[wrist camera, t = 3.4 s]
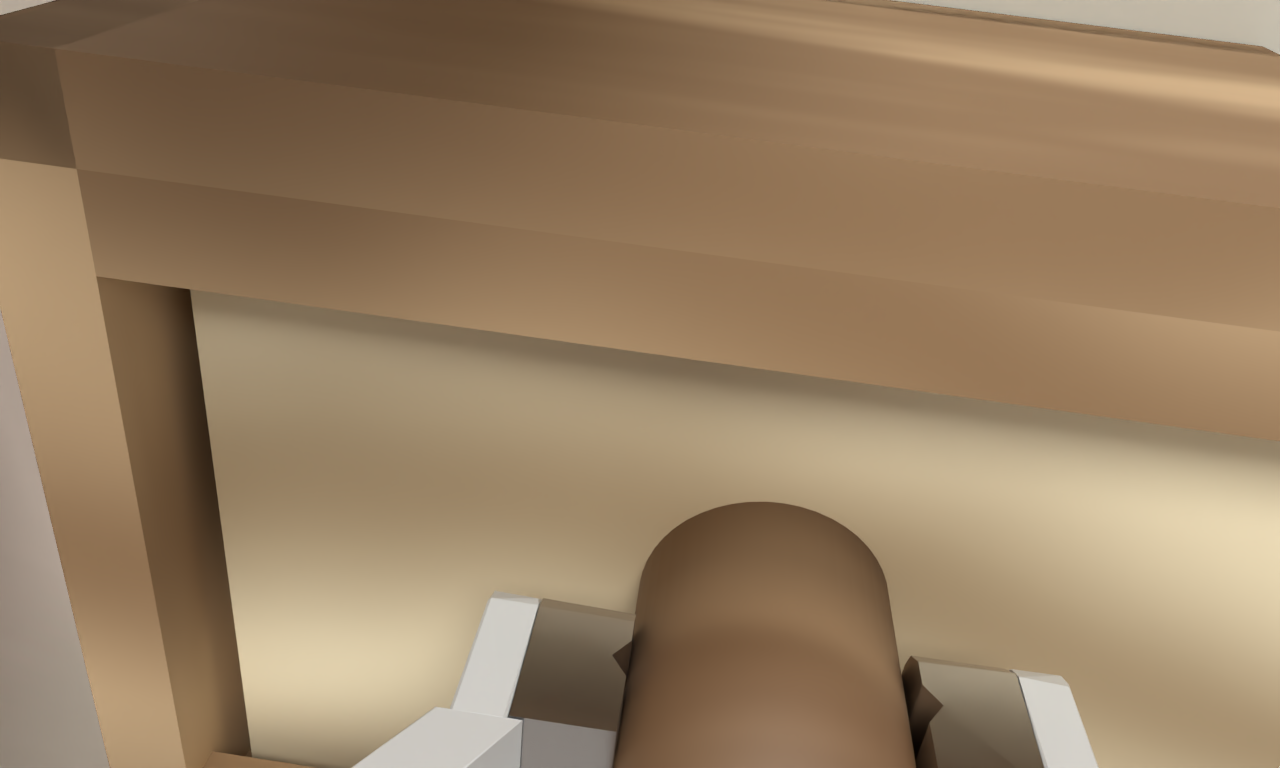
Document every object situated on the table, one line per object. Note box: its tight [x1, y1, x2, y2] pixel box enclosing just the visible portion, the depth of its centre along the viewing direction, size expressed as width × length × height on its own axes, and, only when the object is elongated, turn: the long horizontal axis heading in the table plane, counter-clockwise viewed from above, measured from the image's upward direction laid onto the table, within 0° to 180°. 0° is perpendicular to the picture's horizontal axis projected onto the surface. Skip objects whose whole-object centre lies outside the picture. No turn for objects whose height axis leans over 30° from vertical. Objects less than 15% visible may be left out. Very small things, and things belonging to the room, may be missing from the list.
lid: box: [190, 289, 1280, 768], centre depth 10 cm, size 8×13×5 cm
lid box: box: [0, 0, 1280, 768], centre depth 14 cm, size 11×14×8 cm
